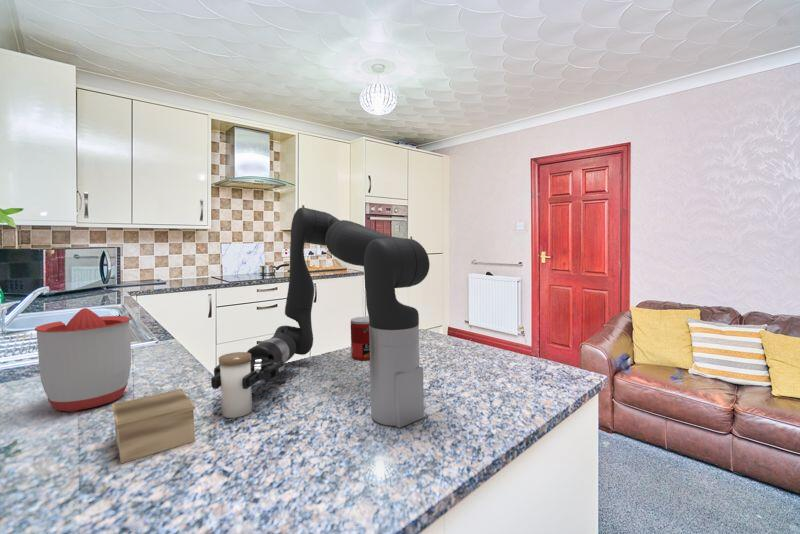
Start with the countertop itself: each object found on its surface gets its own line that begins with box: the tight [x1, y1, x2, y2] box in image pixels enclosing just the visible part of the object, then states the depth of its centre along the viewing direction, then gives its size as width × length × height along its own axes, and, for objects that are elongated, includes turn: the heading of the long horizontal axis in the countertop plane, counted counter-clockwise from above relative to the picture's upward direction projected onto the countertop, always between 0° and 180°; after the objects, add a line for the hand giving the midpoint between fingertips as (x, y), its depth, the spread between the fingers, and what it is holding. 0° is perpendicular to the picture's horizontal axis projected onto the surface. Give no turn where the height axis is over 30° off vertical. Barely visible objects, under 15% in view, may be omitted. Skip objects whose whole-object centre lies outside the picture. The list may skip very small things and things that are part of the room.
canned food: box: [350, 316, 370, 361], centre depth 111 cm, size 8×8×11 cm
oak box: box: [111, 388, 196, 464], centre depth 64 cm, size 10×10×6 cm
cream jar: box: [218, 351, 253, 419], centre depth 75 cm, size 6×6×11 cm
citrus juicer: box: [34, 307, 132, 413], centre depth 82 cm, size 16×17×20 cm
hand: (229, 383), depth 72 cm, fingers closed on cream jar, 5 cm apart
